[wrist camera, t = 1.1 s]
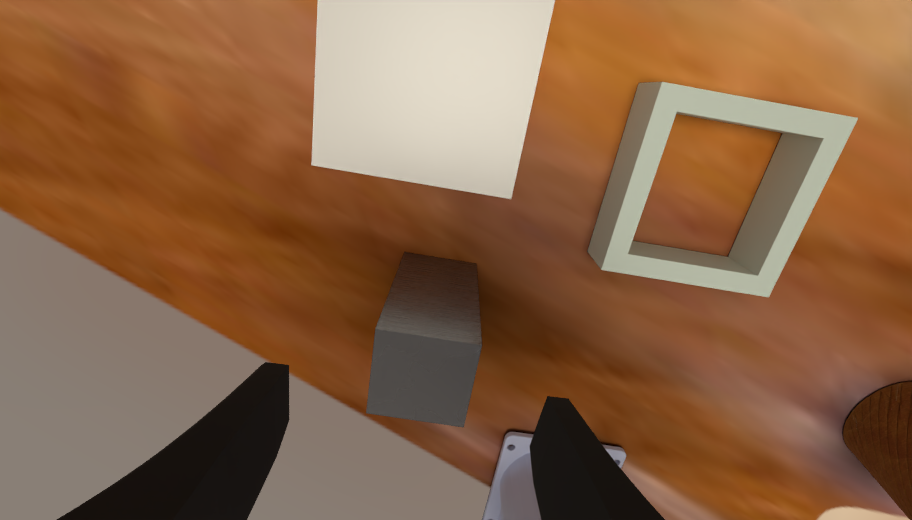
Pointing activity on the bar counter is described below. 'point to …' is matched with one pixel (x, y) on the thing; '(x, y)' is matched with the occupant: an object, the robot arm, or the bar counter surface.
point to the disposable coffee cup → (885, 440)
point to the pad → (427, 89)
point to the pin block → (427, 342)
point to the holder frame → (772, 210)
